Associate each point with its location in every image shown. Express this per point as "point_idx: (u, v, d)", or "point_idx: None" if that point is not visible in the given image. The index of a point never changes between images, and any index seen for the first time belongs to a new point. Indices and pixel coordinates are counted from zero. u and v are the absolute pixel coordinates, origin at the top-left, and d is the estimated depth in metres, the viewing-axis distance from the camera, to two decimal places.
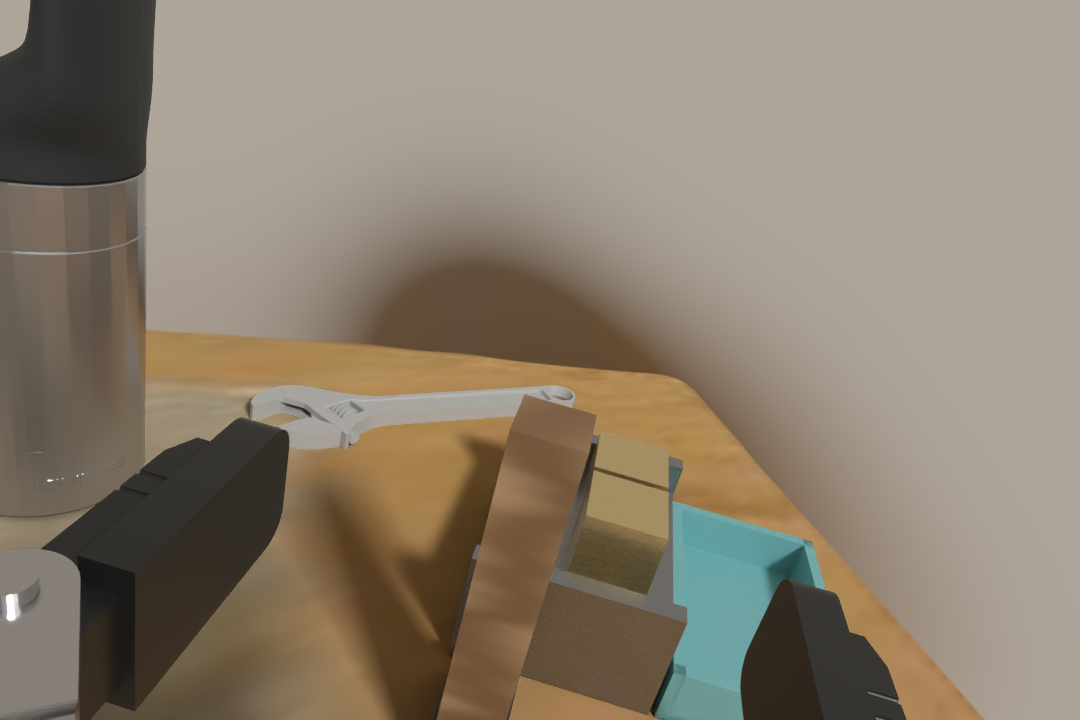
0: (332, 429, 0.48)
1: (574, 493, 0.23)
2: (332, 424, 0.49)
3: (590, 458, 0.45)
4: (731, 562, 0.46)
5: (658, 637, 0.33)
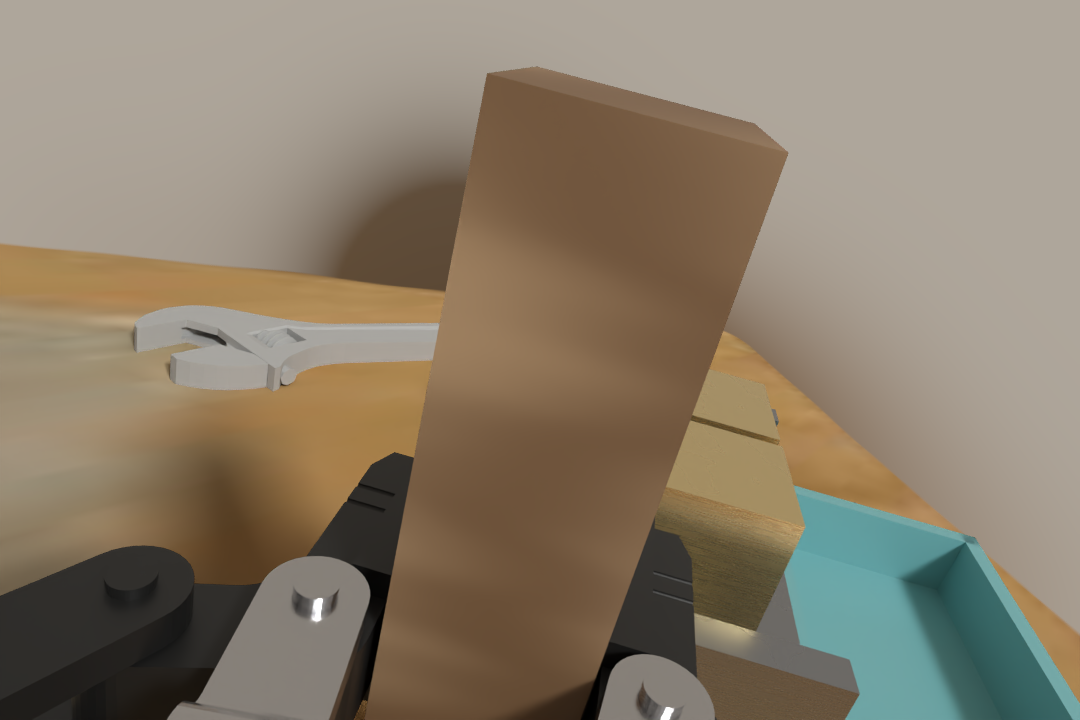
0: (254, 361, 0.33)
1: (717, 325, 0.06)
2: (255, 355, 0.33)
3: None
4: (848, 570, 0.30)
5: (797, 719, 0.17)
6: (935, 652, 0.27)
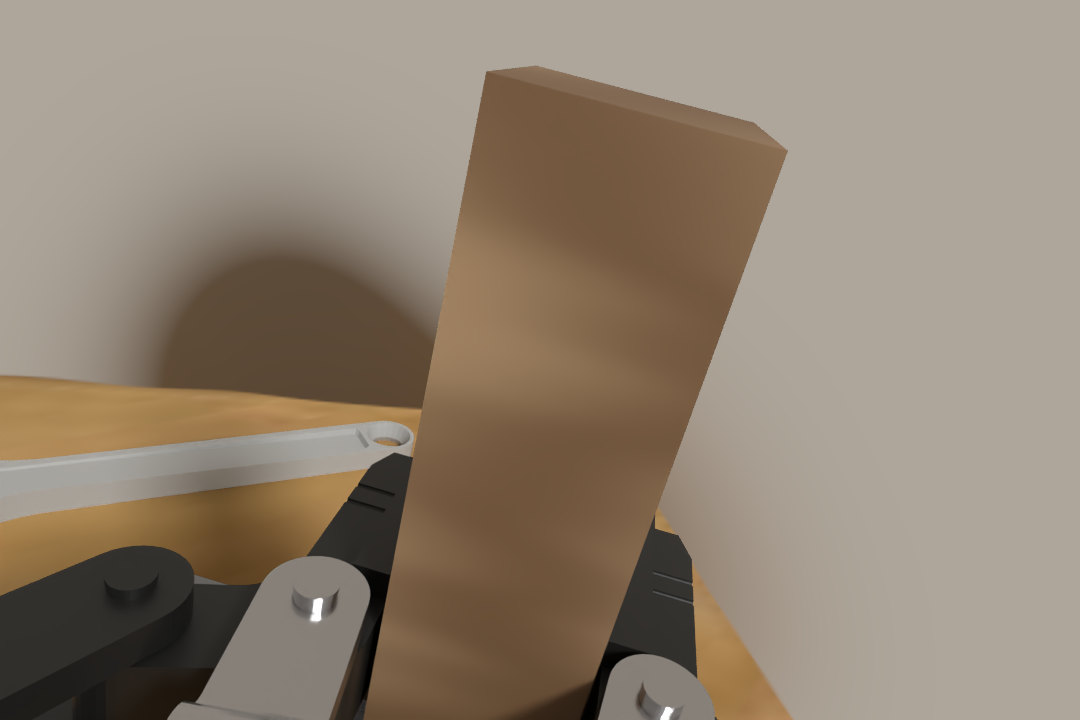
0: None
1: (717, 323, 0.06)
2: None
3: None
4: None
5: None
6: None
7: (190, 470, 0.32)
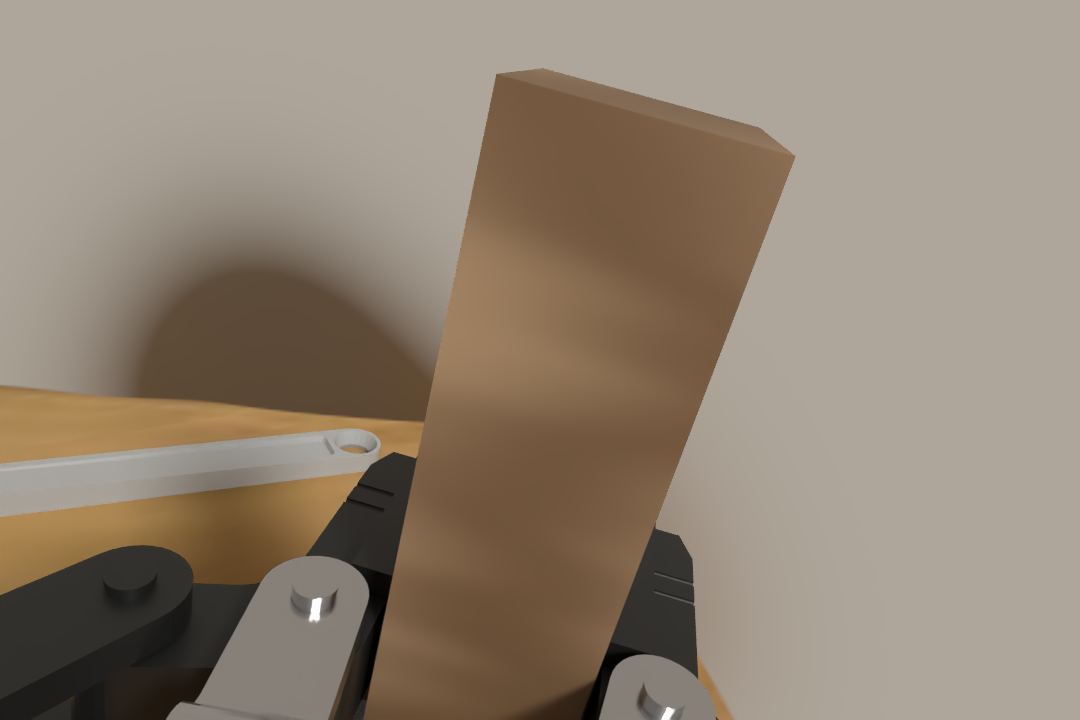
0: None
1: (722, 327, 0.07)
2: None
3: None
4: None
5: None
6: None
7: (153, 475, 0.32)
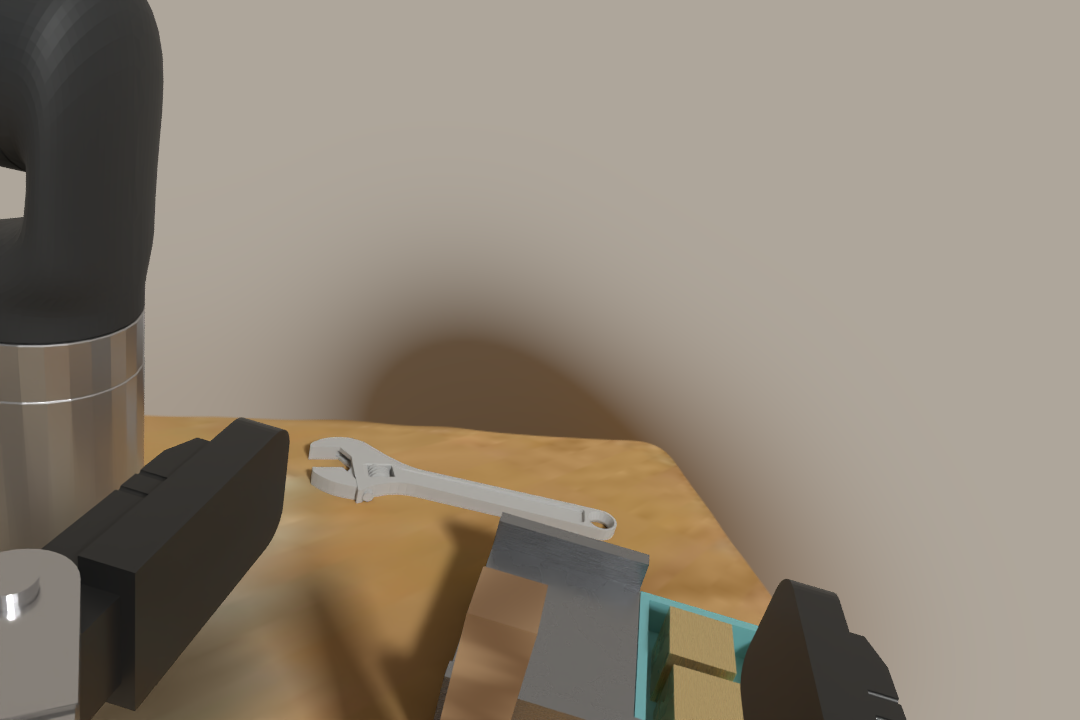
0: (351, 483, 0.56)
1: (525, 665, 0.26)
2: (355, 479, 0.56)
3: (562, 553, 0.48)
4: None
5: None
6: None
7: (483, 500, 0.58)
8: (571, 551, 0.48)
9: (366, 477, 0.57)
